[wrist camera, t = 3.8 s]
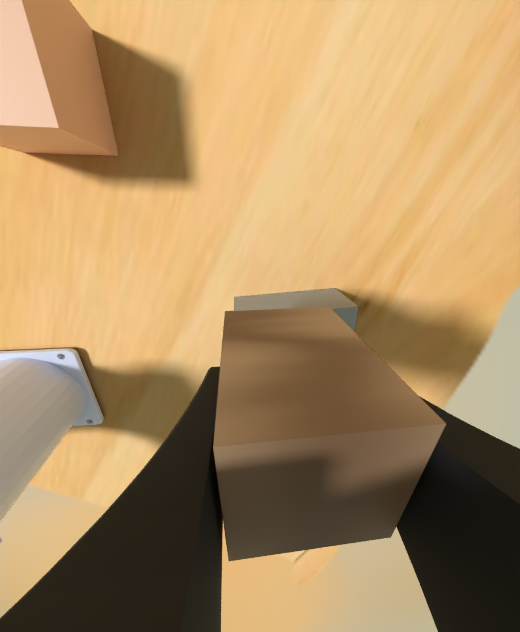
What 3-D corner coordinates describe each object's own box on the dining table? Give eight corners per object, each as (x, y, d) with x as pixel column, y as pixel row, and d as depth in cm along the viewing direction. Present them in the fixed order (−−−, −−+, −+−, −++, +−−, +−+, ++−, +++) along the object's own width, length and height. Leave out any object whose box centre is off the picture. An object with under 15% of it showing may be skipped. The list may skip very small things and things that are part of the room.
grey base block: (243, 376, 21) (244, 411, 17) (234, 295, 18) (234, 318, 14) (326, 367, 22) (345, 398, 18) (333, 286, 18) (358, 306, 14)
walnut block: (231, 393, 11) (228, 561, 6) (225, 311, 9) (213, 447, 4) (318, 386, 12) (391, 537, 6) (329, 306, 10) (446, 423, 4)
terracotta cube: (23, 152, 12) (-94, 120, 8) (-24, 20, 10) (-222, -125, 6) (119, 155, 13) (58, 127, 8) (93, 30, 11) (-7, -96, 6)
